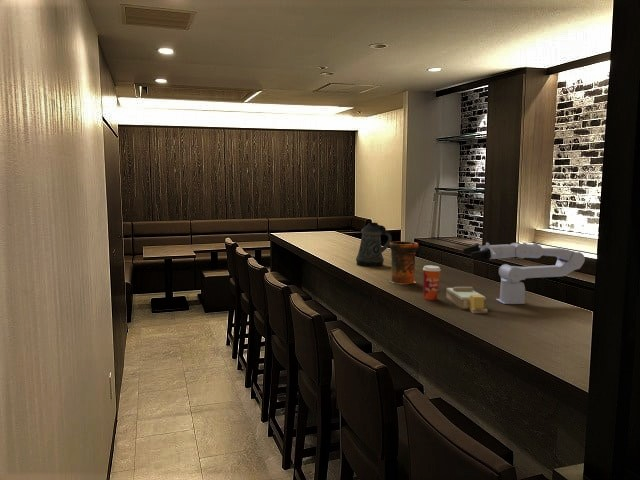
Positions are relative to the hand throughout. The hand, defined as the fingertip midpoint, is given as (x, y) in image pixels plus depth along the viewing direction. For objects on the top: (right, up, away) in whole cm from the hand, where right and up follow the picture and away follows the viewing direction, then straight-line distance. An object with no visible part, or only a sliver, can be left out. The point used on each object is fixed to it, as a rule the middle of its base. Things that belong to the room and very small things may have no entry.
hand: (467, 253), depth 219 cm
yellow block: (+1, -23, -10) cm, 25 cm away
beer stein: (-30, -9, +95) cm, 100 cm away
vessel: (-20, -16, +44) cm, 51 cm away
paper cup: (-13, -20, +9) cm, 26 cm away
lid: (0, -17, +1) cm, 17 cm away
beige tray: (0, -21, -2) cm, 21 cm away
